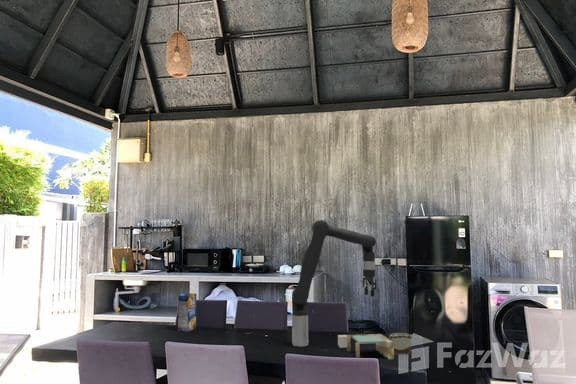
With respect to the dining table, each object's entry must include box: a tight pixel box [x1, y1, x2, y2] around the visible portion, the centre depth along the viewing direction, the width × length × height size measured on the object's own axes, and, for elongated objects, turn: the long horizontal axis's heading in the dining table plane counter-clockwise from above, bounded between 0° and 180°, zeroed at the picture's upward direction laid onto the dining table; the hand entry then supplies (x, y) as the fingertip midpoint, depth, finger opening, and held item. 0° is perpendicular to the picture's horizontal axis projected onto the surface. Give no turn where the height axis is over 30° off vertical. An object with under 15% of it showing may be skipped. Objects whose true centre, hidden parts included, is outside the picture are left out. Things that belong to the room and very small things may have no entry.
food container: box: [388, 332, 413, 355], centre depth 233 cm, size 12×6×10 cm, turn 92°
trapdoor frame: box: [346, 333, 395, 360], centre depth 229 cm, size 20×20×8 cm
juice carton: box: [177, 292, 197, 333], centre depth 299 cm, size 12×8×24 cm, turn 165°
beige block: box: [337, 334, 348, 349], centre depth 248 cm, size 5×5×6 cm
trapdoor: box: [351, 334, 385, 345], centre depth 230 cm, size 14×14×1 cm
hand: (369, 295), depth 260 cm, fingers open, 8 cm apart
